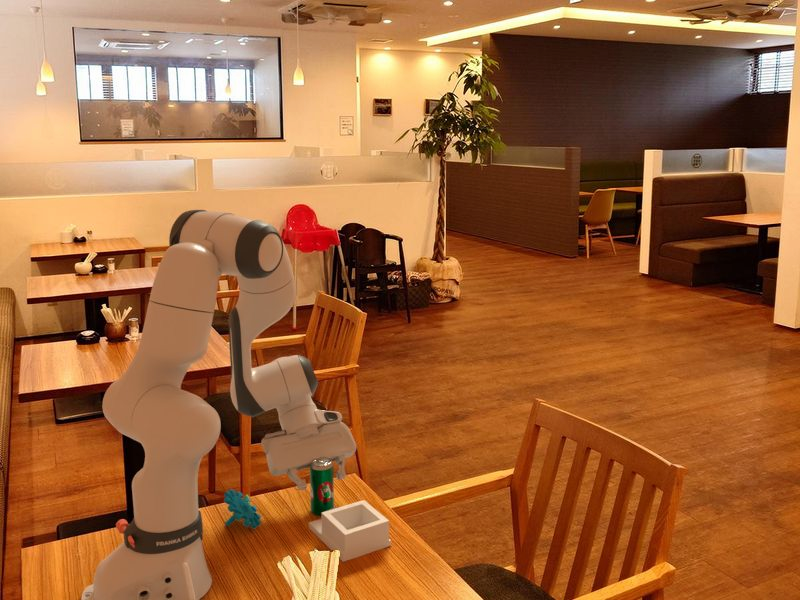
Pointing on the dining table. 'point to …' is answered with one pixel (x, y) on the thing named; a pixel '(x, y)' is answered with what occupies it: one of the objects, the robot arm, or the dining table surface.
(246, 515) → the teal lobed piece
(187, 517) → the robot arm
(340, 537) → the box
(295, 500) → the dining table surface
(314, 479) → the soda can
